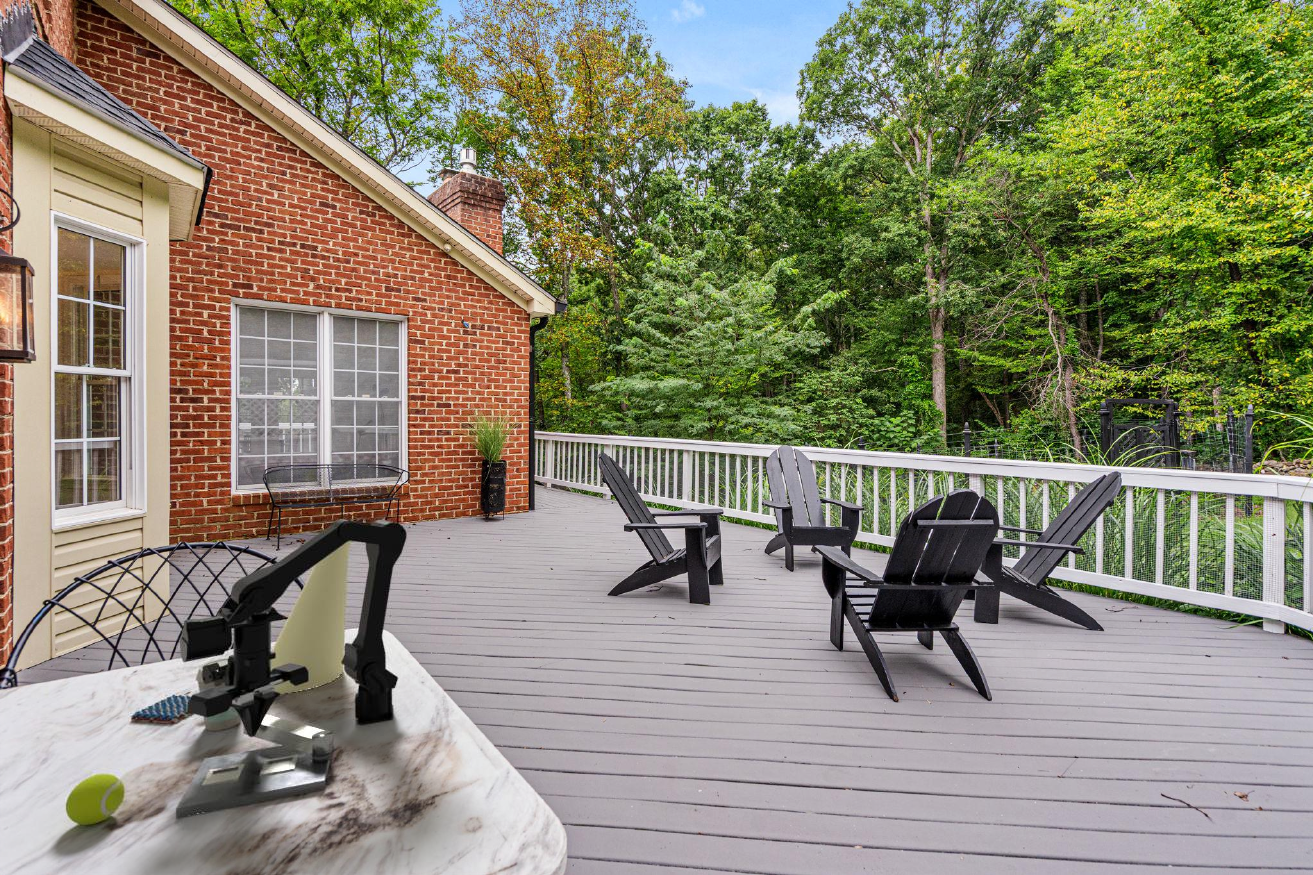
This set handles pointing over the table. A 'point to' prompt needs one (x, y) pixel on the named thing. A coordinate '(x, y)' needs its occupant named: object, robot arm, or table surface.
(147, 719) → the woven mat
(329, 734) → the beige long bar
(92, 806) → the tennis ball
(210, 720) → the coffee cup
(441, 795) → the table surface
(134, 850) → the table surface
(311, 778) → the panel
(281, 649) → the cone light
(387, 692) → the robot arm
